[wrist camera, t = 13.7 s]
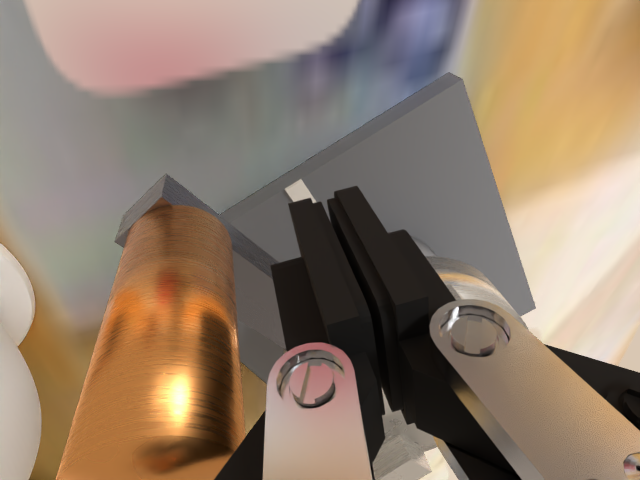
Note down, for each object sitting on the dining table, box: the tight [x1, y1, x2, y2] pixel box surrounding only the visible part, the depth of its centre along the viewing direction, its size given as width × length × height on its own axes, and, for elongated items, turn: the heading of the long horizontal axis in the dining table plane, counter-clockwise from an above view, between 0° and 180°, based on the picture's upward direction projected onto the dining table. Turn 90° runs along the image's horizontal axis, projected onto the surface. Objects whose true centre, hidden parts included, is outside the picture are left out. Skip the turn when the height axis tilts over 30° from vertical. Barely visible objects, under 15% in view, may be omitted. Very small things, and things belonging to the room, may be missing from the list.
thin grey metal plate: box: [220, 73, 536, 384], centre depth 27 cm, size 20×20×6 cm
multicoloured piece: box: [56, 174, 528, 480], centre depth 17 cm, size 23×13×12 cm, turn 41°
